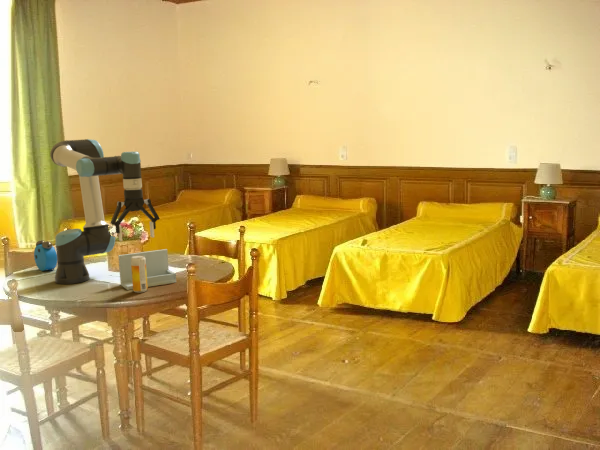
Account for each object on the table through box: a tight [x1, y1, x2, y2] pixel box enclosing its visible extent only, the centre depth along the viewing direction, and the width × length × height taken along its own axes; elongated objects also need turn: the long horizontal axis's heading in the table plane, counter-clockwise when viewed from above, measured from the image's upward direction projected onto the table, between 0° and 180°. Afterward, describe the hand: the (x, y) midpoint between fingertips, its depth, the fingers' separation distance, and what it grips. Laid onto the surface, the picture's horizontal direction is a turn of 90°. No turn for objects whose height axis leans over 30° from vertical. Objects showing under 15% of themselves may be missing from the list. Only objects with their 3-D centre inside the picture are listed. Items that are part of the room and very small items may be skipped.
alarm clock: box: [33, 239, 58, 272], centre depth 331 cm, size 13×6×15 cm, turn 47°
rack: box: [118, 248, 177, 291], centre depth 295 cm, size 22×11×14 cm, turn 120°
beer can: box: [131, 256, 149, 294], centre depth 282 cm, size 6×6×15 cm
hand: (136, 239), depth 280 cm, fingers open, 13 cm apart
